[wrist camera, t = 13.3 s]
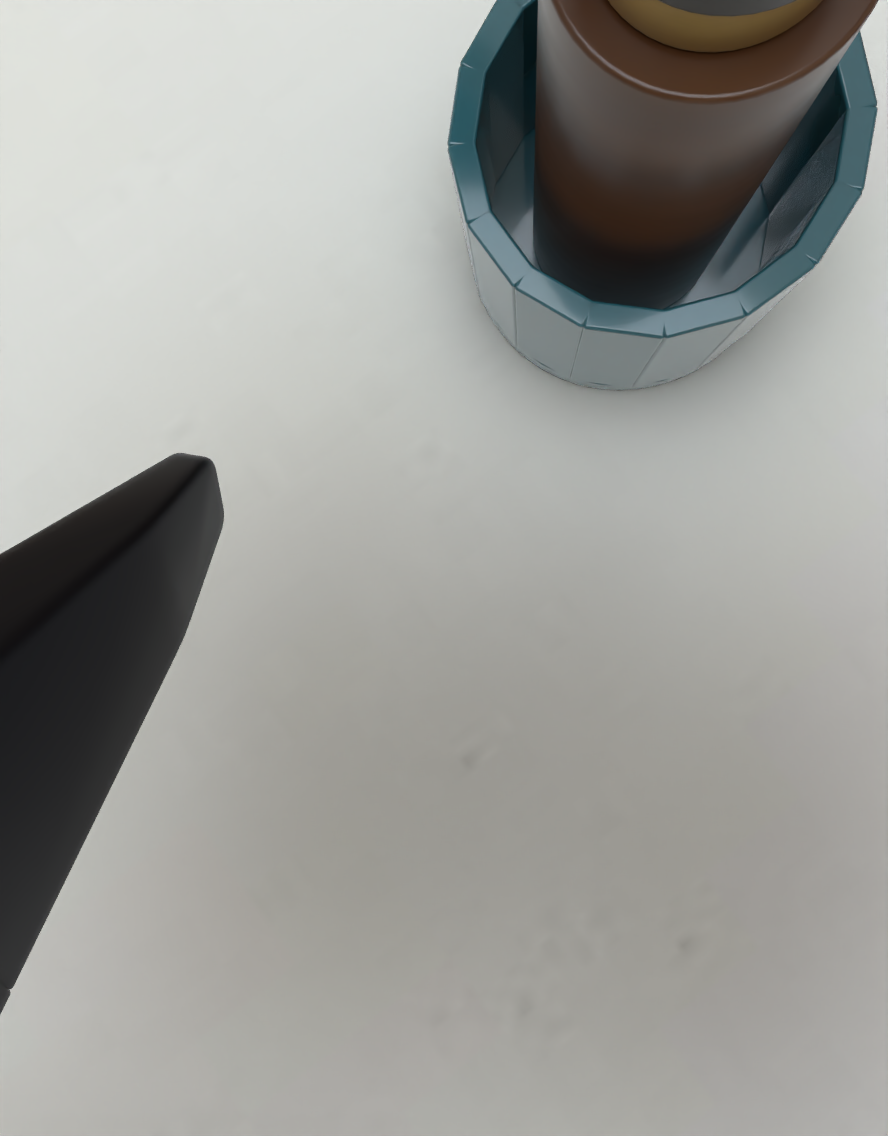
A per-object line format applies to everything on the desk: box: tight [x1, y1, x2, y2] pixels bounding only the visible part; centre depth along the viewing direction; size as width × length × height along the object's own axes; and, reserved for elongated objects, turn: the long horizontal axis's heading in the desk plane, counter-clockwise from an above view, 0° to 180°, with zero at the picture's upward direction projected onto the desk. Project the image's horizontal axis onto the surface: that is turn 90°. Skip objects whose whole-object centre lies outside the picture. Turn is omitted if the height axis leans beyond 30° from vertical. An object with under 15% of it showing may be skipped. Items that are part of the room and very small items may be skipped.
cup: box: [448, 0, 877, 390], centre depth 16 cm, size 7×7×5 cm
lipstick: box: [533, 0, 878, 309], centre depth 12 cm, size 4×4×12 cm
